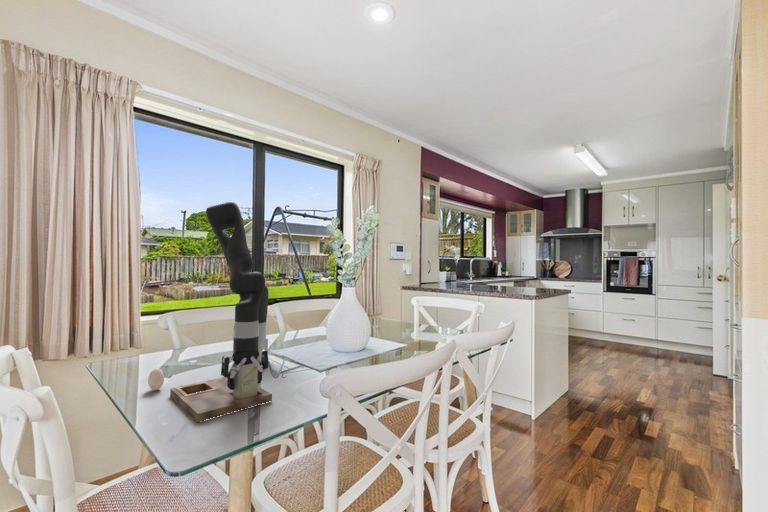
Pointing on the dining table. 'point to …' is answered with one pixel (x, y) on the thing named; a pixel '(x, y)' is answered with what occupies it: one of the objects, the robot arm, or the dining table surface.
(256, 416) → the dining table surface
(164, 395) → the dining table surface
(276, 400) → the dining table surface
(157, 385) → the egg
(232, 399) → the socket board
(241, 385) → the skincare box
